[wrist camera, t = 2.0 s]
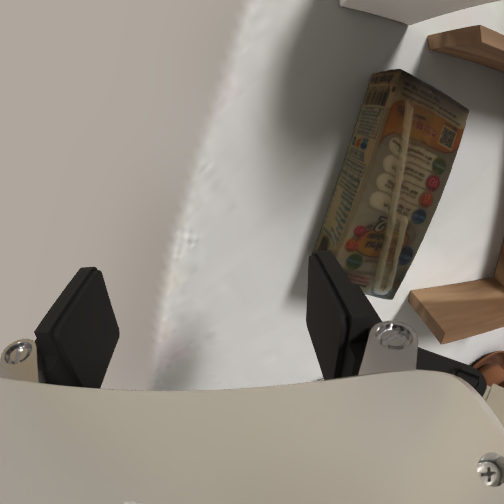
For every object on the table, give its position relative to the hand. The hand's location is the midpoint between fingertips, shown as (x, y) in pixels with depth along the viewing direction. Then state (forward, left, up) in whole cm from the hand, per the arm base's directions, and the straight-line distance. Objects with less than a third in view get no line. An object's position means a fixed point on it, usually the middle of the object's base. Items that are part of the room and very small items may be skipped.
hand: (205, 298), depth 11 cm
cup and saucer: (-33, -41, -18) cm, 56 cm away
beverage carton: (0, -14, -18) cm, 23 cm away
